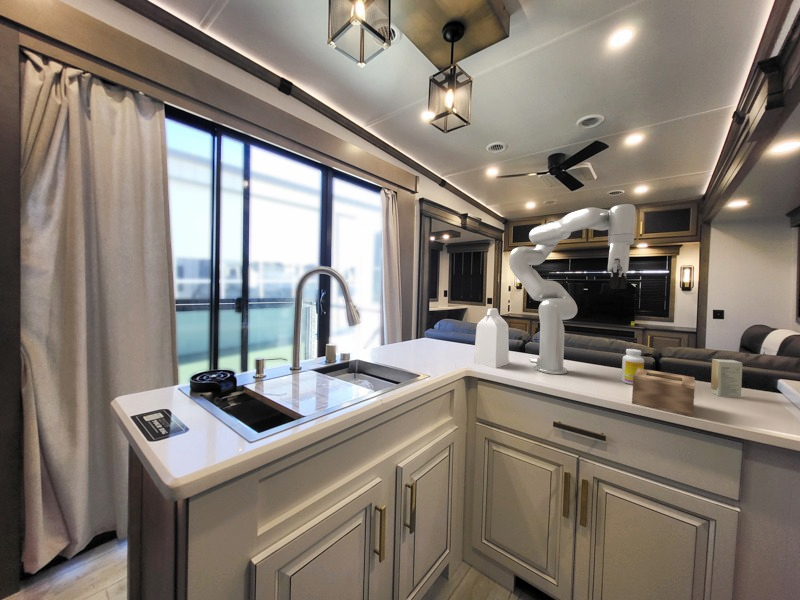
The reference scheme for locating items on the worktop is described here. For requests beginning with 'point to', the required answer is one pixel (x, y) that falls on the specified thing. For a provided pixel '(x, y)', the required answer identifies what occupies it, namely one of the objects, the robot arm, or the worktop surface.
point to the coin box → (664, 391)
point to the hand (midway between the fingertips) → (618, 288)
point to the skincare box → (726, 378)
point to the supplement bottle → (631, 365)
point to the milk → (492, 341)
